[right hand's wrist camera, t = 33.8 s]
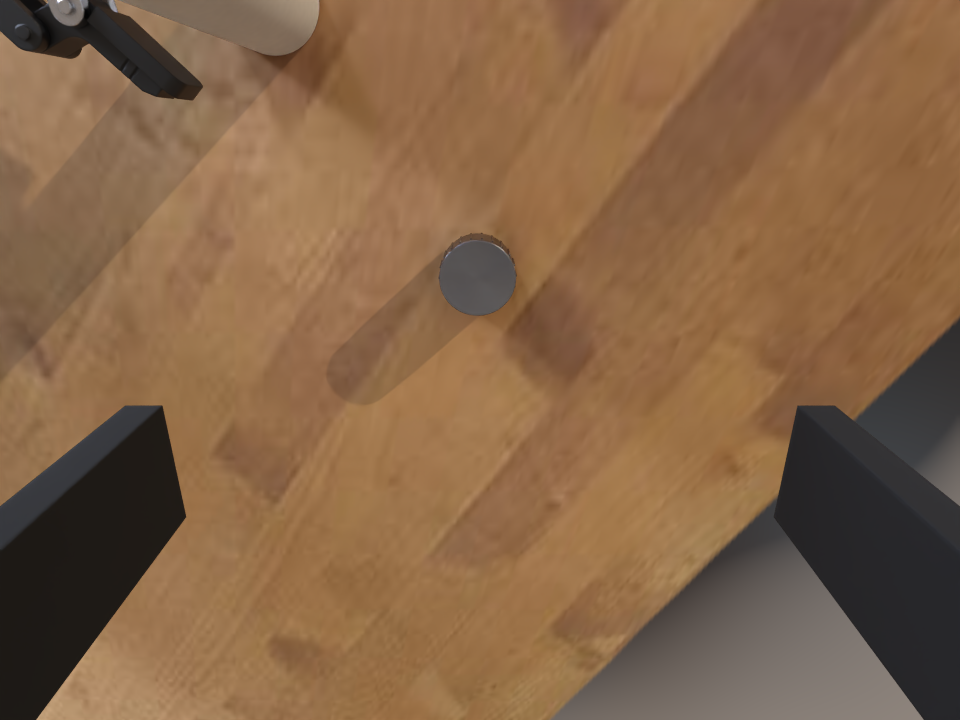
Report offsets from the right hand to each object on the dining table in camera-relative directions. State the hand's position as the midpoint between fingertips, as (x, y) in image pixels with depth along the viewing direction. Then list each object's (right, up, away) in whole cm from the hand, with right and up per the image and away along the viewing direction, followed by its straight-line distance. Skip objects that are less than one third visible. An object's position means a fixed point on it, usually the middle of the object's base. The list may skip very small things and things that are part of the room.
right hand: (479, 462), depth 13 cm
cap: (0, +6, +19) cm, 20 cm away
